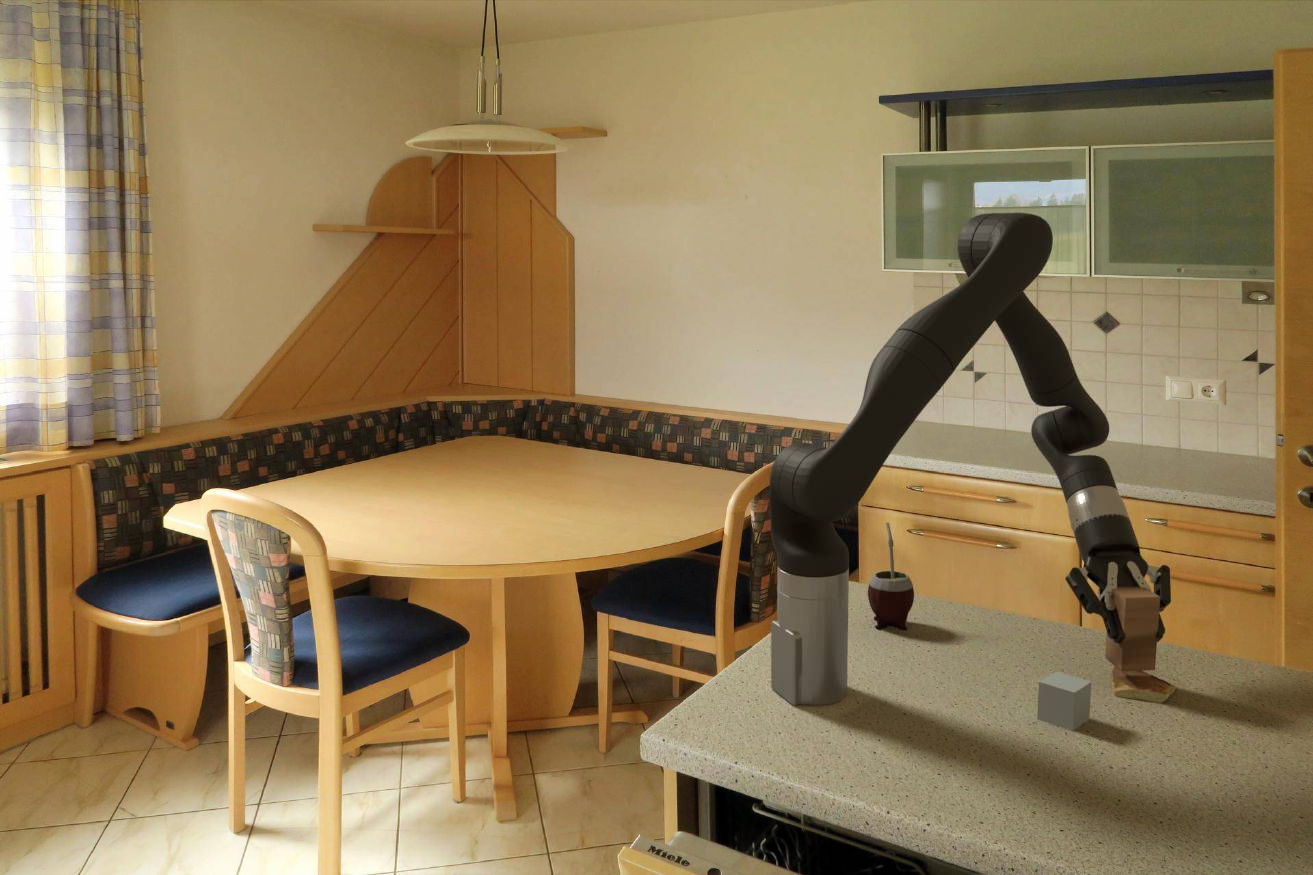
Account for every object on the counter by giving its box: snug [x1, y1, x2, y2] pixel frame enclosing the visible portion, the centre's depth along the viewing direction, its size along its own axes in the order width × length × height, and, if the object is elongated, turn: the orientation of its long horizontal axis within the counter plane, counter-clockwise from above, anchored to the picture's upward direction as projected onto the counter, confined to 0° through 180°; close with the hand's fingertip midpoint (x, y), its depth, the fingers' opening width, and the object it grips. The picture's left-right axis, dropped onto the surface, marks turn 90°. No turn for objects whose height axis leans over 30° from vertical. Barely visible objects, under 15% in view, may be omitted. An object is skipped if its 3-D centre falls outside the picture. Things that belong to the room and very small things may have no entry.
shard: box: [1111, 663, 1177, 704], centre depth 137 cm, size 11×8×2 cm
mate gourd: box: [867, 522, 915, 632], centre depth 160 cm, size 8×8×15 cm
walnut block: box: [1104, 586, 1160, 672], centre depth 135 cm, size 4×4×10 cm
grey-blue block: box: [1036, 671, 1092, 731], centre depth 127 cm, size 4×4×5 cm
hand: (1139, 639), depth 133 cm, fingers closed on walnut block, 4 cm apart
